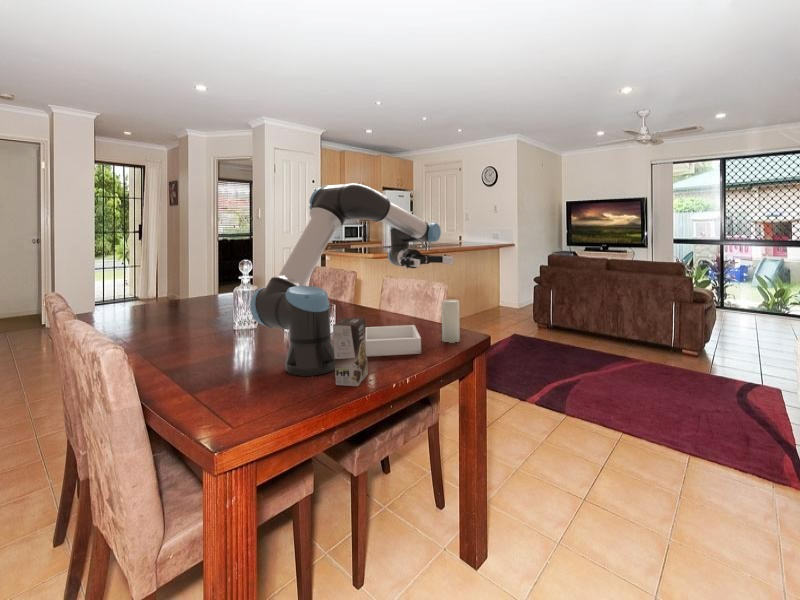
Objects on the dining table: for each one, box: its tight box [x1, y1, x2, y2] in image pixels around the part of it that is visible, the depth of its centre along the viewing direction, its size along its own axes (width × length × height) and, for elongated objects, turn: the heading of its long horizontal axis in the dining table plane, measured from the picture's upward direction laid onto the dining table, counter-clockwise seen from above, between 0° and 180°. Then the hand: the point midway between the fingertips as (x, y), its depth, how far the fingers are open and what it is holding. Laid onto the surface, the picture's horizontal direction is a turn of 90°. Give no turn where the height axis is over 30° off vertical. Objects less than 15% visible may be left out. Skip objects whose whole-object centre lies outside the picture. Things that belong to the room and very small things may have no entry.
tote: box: [365, 324, 422, 357], centre depth 144 cm, size 18×18×5 cm
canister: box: [441, 299, 461, 344], centre depth 149 cm, size 6×6×14 cm
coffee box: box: [332, 317, 369, 387], centre depth 114 cm, size 9×6×16 cm
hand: (436, 262), depth 154 cm, fingers open, 13 cm apart
